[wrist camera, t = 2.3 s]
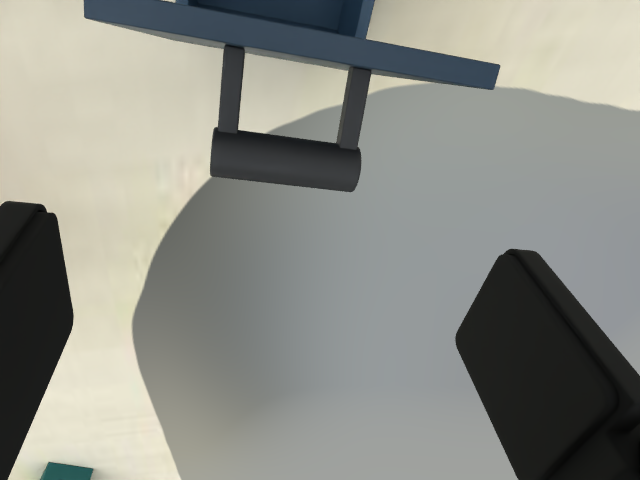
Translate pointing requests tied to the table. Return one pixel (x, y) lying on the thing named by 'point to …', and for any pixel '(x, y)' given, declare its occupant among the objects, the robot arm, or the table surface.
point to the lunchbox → (300, 13)
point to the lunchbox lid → (295, 45)
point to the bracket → (66, 472)
